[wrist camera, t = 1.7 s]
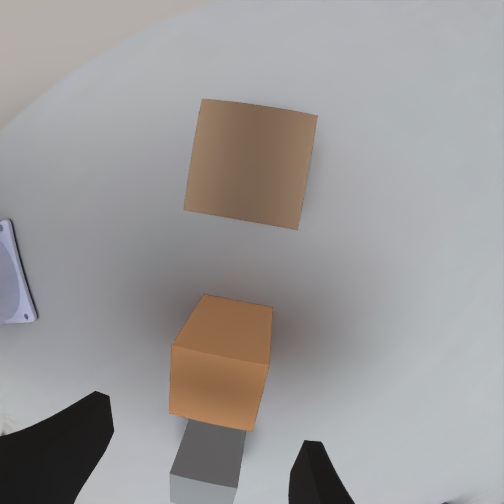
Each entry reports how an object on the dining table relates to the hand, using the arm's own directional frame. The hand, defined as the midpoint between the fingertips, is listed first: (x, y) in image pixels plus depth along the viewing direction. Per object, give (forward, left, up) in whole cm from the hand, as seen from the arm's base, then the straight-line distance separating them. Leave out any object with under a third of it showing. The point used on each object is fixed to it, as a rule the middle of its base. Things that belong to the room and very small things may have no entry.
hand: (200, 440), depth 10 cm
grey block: (-3, -9, -9) cm, 13 cm away
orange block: (0, 0, -9) cm, 9 cm away
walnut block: (+3, +9, -9) cm, 13 cm away
